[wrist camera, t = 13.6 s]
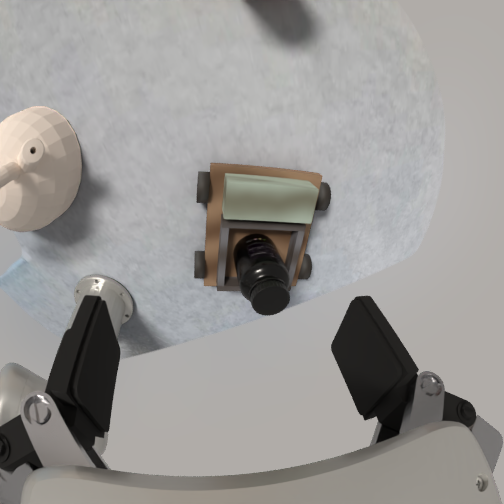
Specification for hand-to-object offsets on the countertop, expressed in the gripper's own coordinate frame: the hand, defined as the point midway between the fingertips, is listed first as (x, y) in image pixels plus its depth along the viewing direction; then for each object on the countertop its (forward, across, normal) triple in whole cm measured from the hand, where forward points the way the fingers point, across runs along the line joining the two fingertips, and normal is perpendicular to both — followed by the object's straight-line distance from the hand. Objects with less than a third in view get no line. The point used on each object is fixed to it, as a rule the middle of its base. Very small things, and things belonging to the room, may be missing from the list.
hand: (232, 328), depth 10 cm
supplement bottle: (+29, -8, +14) cm, 33 cm away
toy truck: (+32, -8, +11) cm, 35 cm away
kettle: (+33, +30, +1) cm, 44 cm away
